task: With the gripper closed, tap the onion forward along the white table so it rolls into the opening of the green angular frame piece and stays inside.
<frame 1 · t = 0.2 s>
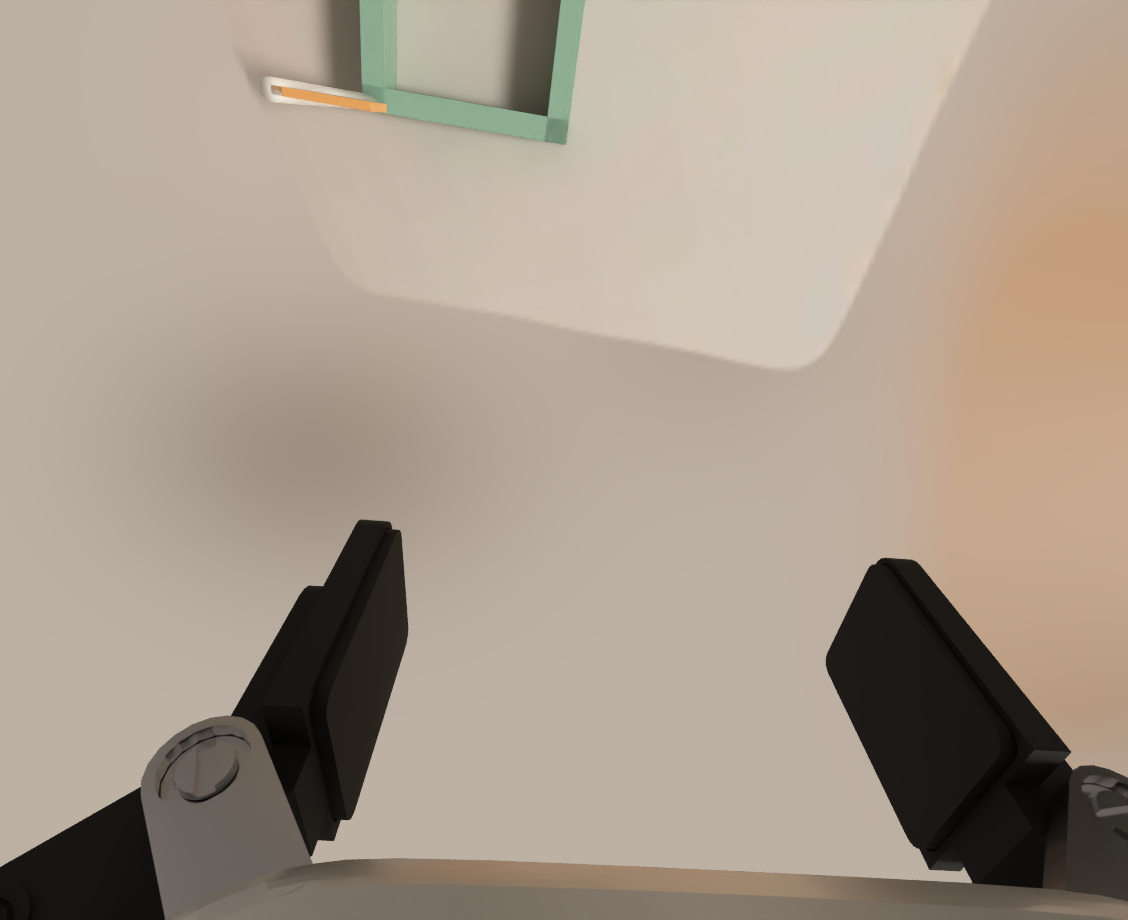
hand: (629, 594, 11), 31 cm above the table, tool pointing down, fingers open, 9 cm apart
green angular frame piece: (478, 8, 31), on the table
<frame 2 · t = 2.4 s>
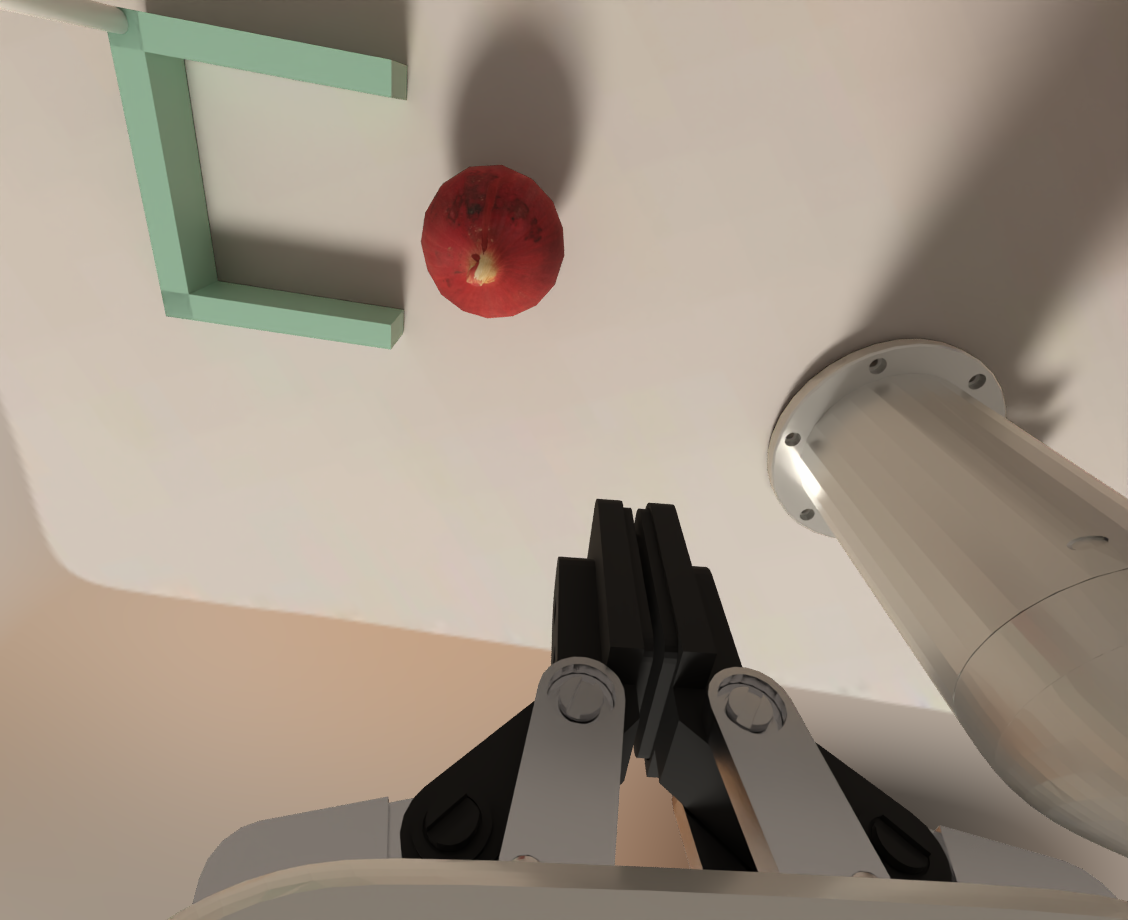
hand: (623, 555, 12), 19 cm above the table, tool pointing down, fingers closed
onion: (502, 229, 26), on the table
green angular frame piece: (305, 197, 25), on the table
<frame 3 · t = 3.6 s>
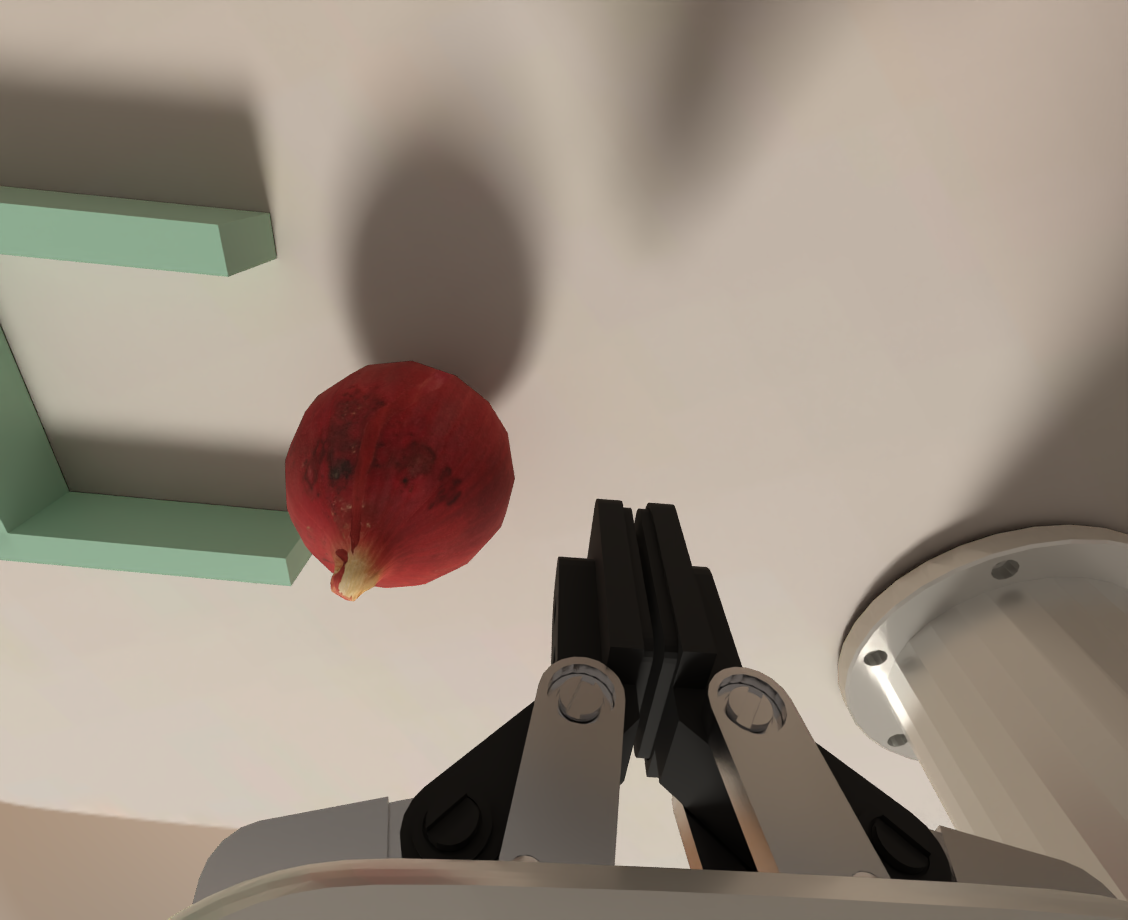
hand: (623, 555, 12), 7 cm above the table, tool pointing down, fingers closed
onion: (438, 412, 19), on the table
green angular frame piece: (160, 388, 18), on the table
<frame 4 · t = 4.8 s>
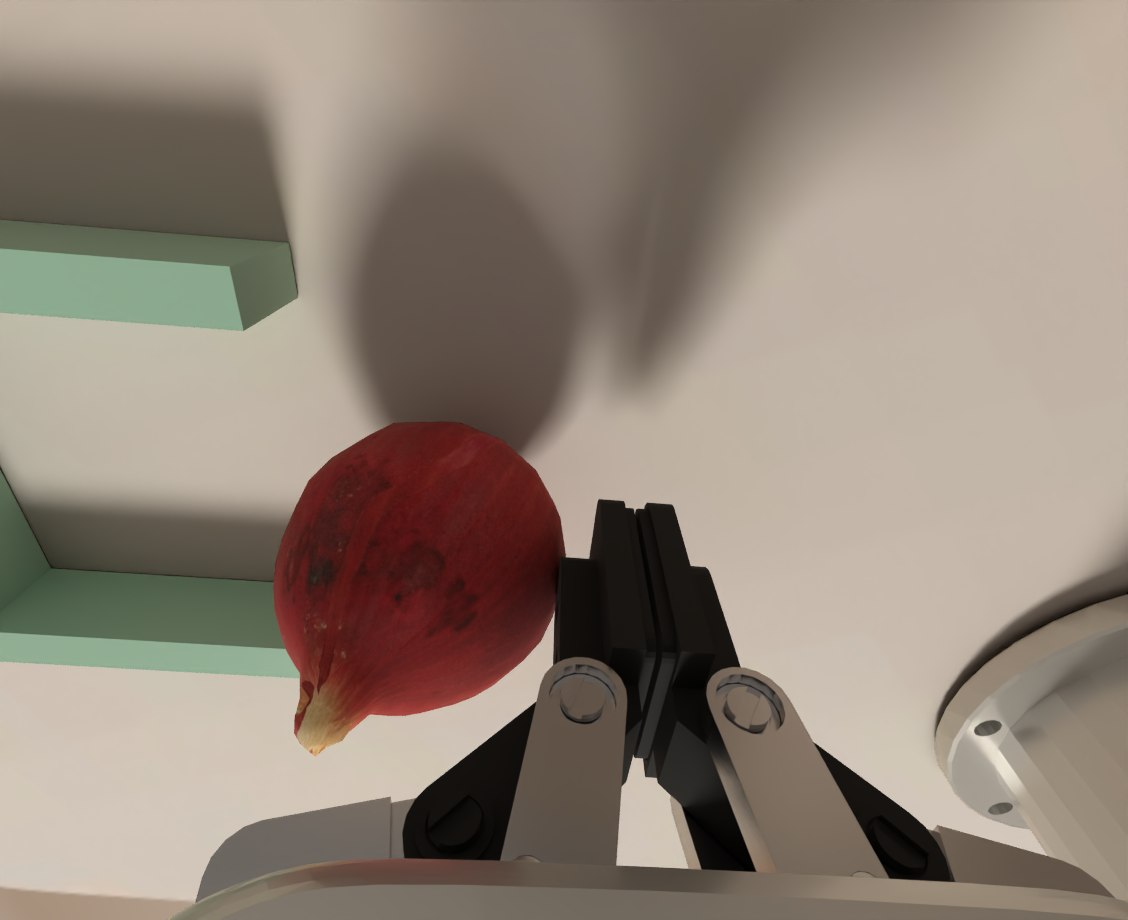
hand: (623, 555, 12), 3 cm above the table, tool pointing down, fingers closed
onion: (492, 471, 15), on the table, touching gripper
green angular frame piece: (156, 452, 15), on the table
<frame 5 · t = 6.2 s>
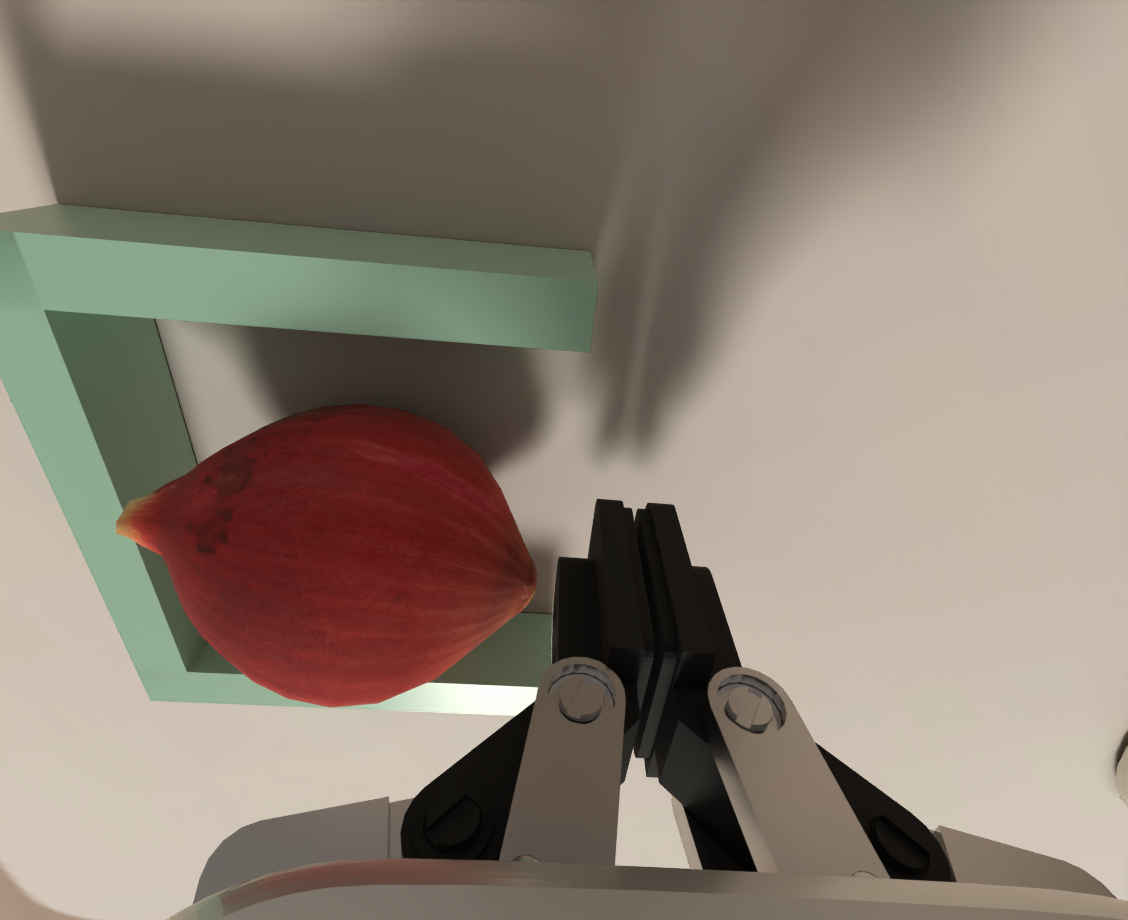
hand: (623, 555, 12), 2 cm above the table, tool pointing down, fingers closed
onion: (544, 582, 12), point 2 cm above the table, touching gripper
green angular frame piece: (384, 475, 14), on the table
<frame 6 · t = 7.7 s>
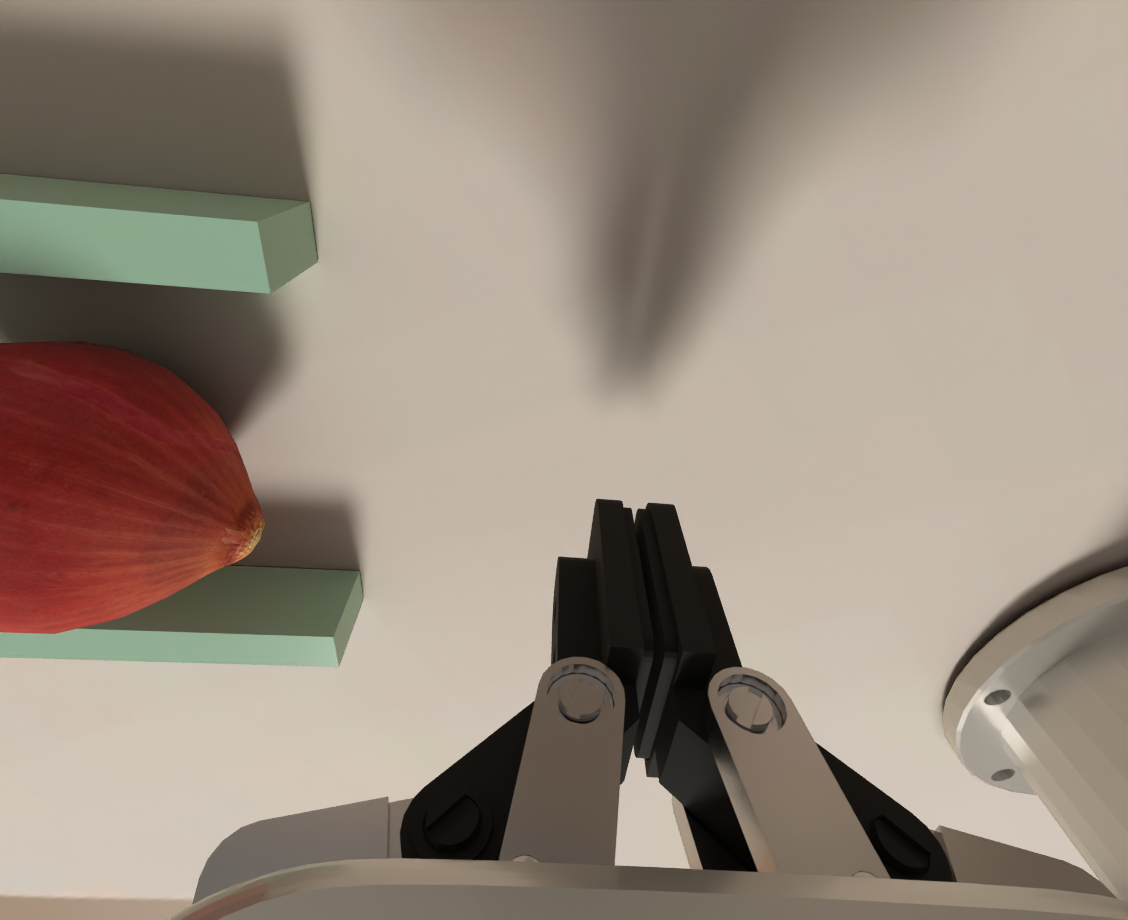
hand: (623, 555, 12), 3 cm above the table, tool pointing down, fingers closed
onion: (271, 533, 12), point 3 cm above the table
green angular frame piece: (159, 430, 14), on the table
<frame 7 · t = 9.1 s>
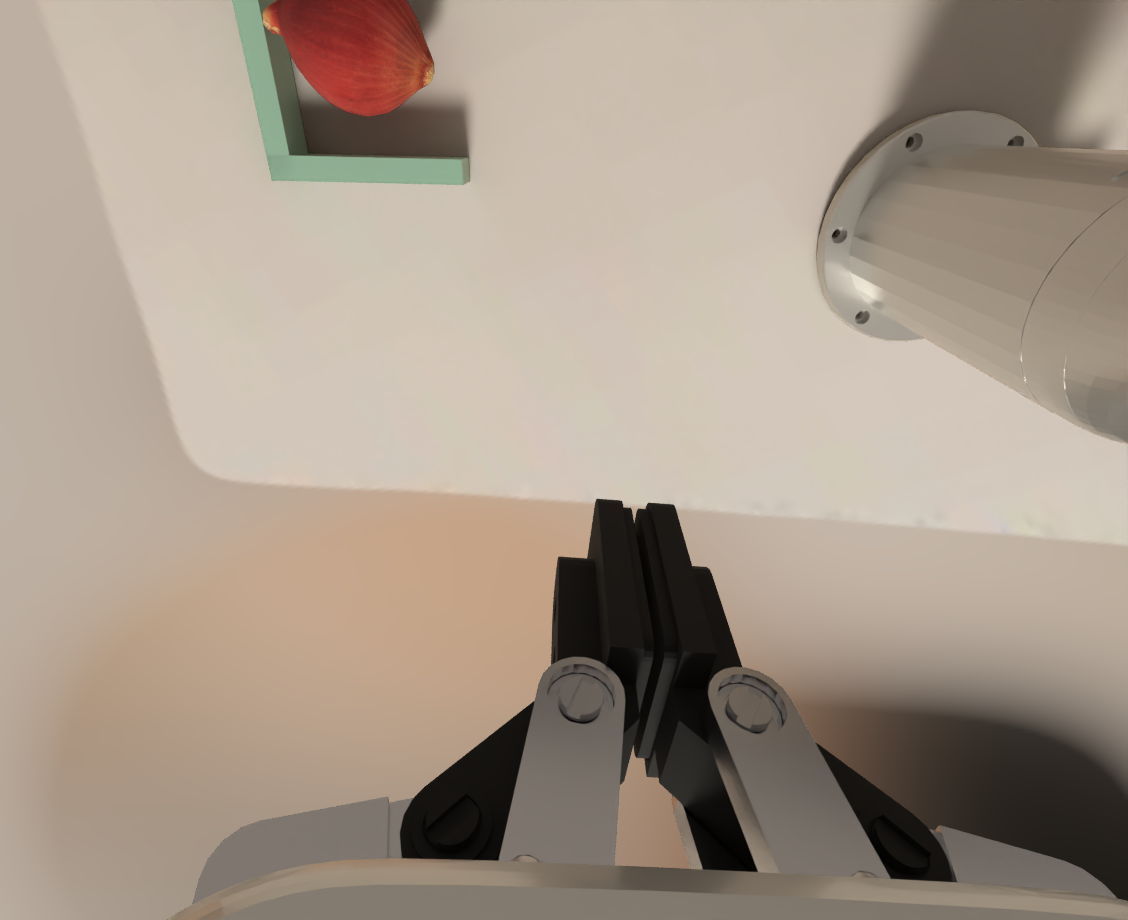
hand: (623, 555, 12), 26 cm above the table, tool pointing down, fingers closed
onion: (438, 71, 27), point 3 cm above the table
green angular frame piece: (376, 57, 29), on the table
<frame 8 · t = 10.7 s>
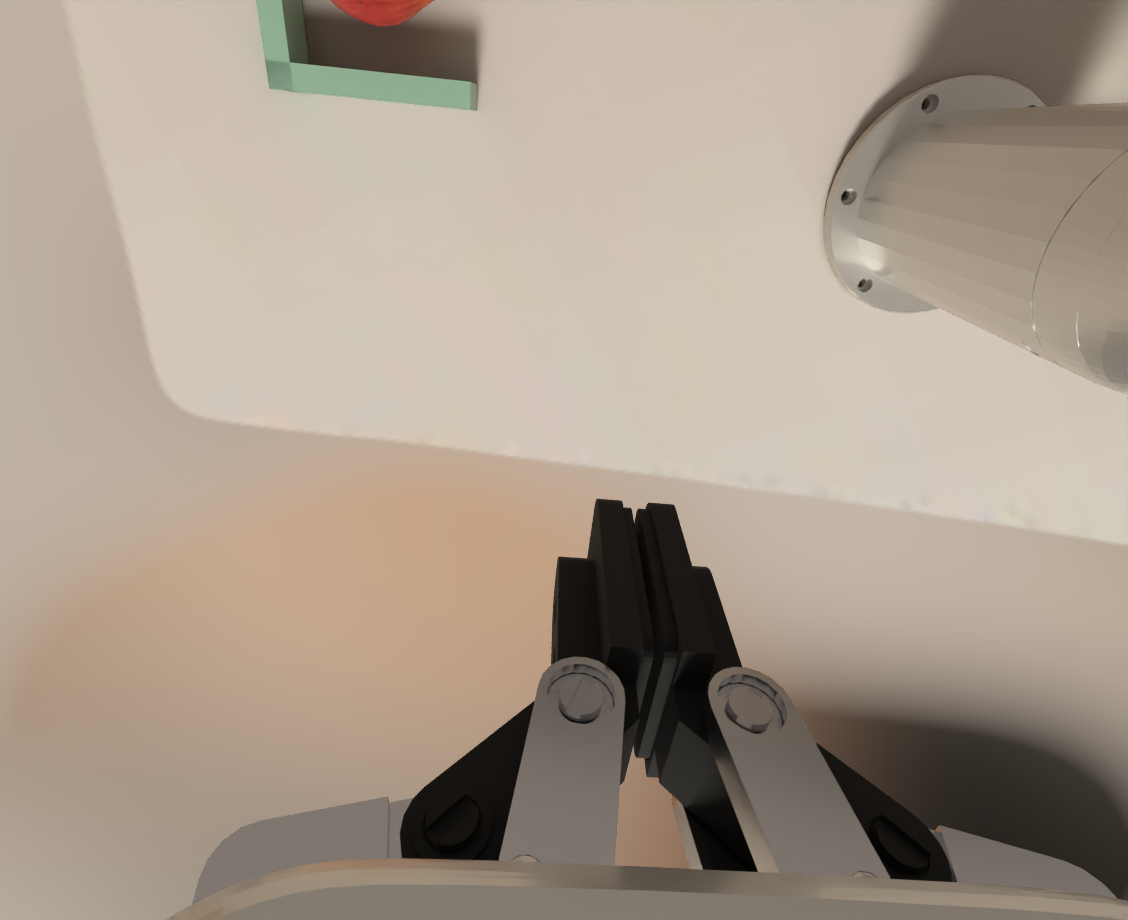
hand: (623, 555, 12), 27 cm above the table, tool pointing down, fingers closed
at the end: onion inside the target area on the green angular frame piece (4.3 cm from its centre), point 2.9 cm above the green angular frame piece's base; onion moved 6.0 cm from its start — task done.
